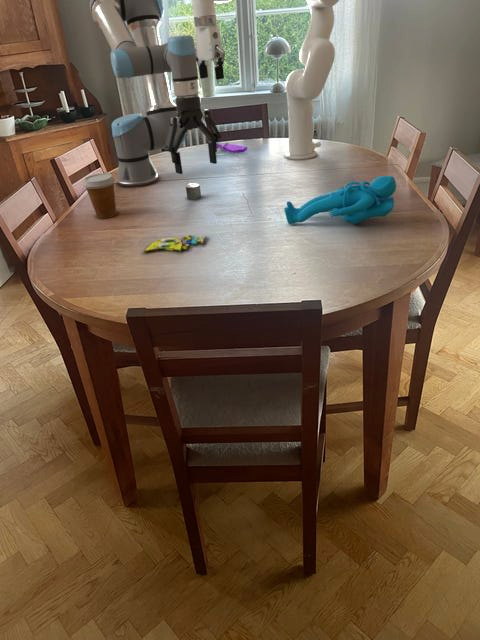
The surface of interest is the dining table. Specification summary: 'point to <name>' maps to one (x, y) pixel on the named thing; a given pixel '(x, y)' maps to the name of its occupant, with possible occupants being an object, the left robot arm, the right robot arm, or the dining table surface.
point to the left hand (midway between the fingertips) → (196, 168)
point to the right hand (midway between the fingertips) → (211, 78)
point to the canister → (193, 191)
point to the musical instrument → (231, 148)
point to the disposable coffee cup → (101, 194)
